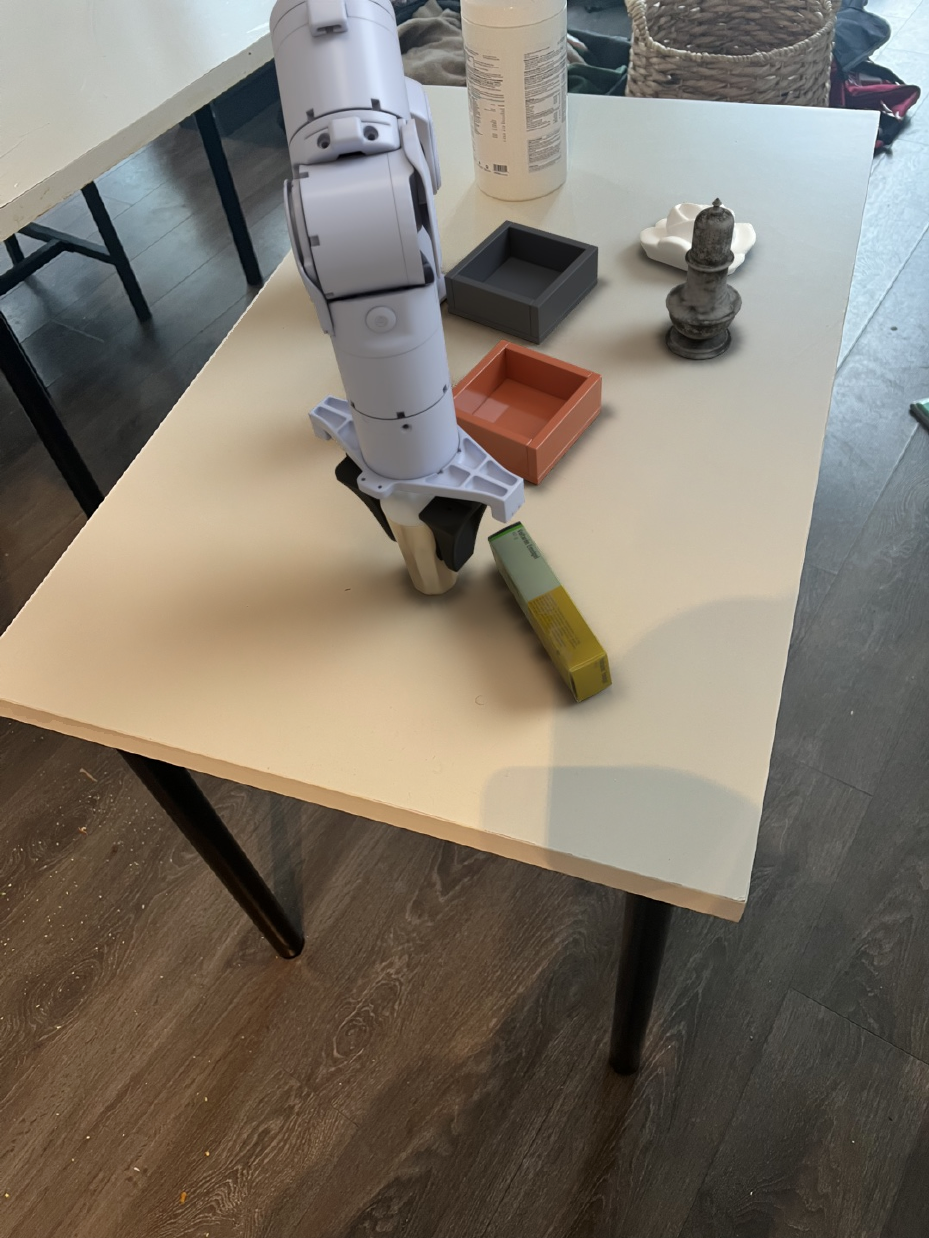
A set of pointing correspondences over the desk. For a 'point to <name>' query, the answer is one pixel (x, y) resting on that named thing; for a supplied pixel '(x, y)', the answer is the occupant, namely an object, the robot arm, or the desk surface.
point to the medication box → (551, 612)
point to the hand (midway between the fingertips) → (431, 545)
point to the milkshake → (417, 542)
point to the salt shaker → (705, 289)
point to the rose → (689, 237)
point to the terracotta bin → (526, 407)
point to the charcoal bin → (522, 280)
